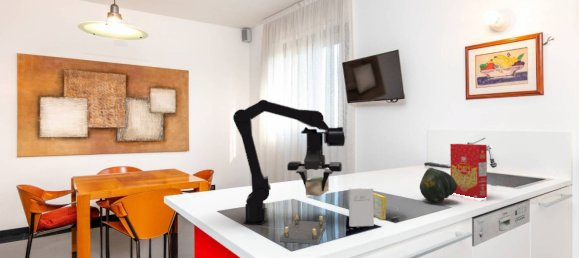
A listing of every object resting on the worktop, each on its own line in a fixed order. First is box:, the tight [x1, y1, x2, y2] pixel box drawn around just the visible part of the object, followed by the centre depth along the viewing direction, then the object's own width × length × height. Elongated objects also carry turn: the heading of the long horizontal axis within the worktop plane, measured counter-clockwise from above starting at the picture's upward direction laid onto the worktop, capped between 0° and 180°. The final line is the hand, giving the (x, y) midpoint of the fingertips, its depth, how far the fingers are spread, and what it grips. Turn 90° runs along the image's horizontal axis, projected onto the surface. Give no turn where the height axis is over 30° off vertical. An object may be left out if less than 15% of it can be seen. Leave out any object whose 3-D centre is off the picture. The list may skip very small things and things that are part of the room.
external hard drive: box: [348, 187, 375, 228], centre depth 109 cm, size 2×8×12 cm, turn 96°
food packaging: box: [449, 143, 488, 198], centre depth 153 cm, size 15×5×25 cm, turn 23°
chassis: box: [279, 213, 327, 245], centre depth 101 cm, size 11×18×4 cm, turn 167°
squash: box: [419, 167, 457, 203], centre depth 143 cm, size 14×15×15 cm
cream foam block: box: [305, 176, 330, 197], centre depth 118 cm, size 5×11×5 cm, turn 157°
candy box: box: [373, 192, 387, 221], centre depth 124 cm, size 16×2×8 cm, turn 14°
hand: (314, 190), depth 115 cm, fingers closed on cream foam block, 5 cm apart
